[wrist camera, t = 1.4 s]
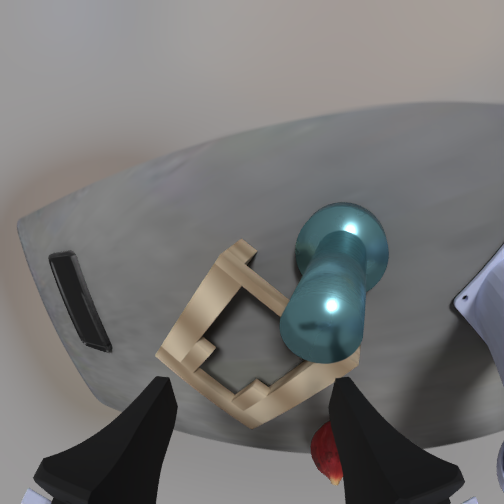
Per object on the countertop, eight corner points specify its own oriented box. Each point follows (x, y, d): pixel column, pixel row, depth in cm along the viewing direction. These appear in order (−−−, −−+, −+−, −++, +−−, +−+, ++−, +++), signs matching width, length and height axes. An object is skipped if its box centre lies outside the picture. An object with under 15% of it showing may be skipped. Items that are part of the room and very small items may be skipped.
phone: (83, 344, 37) (46, 255, 33) (87, 341, 38) (52, 252, 34) (111, 354, 34) (70, 251, 30) (116, 349, 35) (76, 248, 31)
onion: (311, 423, 26) (290, 484, 19) (334, 394, 23) (315, 464, 16) (358, 437, 25) (345, 498, 18) (385, 410, 22) (379, 479, 15)
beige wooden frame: (241, 238, 21) (220, 254, 18) (361, 335, 20) (358, 365, 17) (174, 336, 28) (155, 355, 25) (263, 405, 27) (251, 429, 24)
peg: (336, 183, 18) (308, 218, 9) (404, 242, 17) (432, 328, 8) (285, 249, 20) (220, 326, 12) (347, 301, 20) (324, 404, 11)
